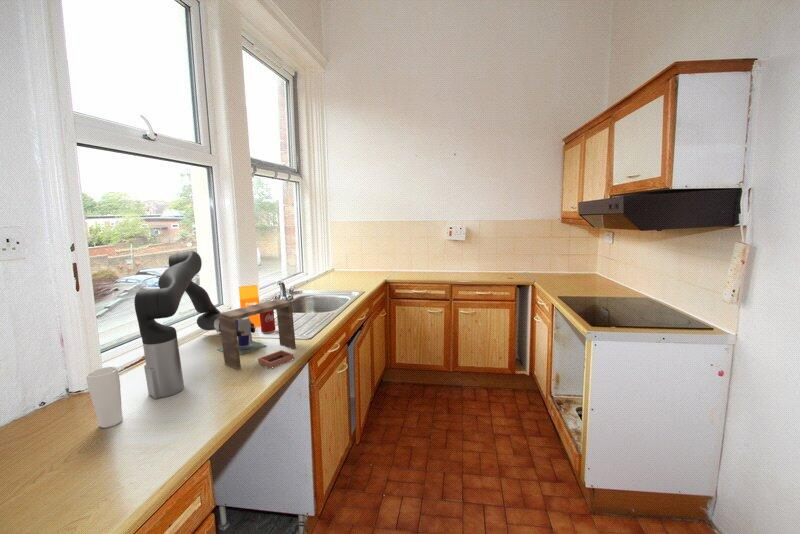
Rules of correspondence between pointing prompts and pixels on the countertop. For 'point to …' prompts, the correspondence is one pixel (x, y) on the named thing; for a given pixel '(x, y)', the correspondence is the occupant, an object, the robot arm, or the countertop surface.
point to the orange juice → (250, 300)
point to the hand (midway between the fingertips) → (247, 332)
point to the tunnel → (229, 317)
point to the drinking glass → (106, 395)
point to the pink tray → (275, 359)
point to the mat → (253, 347)
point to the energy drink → (244, 333)
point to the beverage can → (267, 322)
